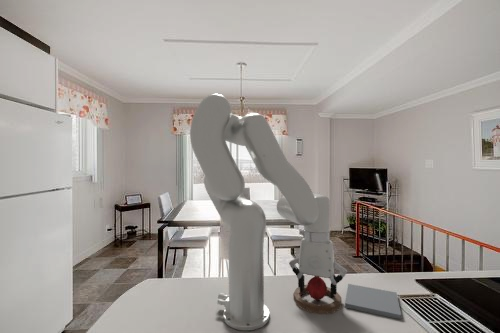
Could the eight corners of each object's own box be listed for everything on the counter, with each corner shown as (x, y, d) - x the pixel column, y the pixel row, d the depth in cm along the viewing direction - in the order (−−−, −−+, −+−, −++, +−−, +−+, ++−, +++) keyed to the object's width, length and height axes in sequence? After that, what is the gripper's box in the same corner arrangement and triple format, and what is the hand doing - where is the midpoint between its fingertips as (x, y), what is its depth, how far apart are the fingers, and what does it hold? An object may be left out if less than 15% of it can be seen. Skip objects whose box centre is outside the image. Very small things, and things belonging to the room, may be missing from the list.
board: (345, 307, 73) (345, 303, 73) (348, 287, 85) (348, 283, 85) (401, 319, 67) (401, 315, 67) (396, 296, 79) (396, 292, 79)
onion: (327, 306, 74) (327, 279, 74) (307, 304, 75) (307, 277, 75) (326, 296, 79) (325, 270, 79) (307, 294, 81) (306, 269, 80)
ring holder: (288, 306, 74) (288, 301, 74) (300, 286, 86) (300, 281, 86) (338, 318, 68) (338, 312, 68) (342, 294, 80) (342, 289, 80)
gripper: (285, 235, 77) (285, 292, 77) (346, 242, 70) (346, 305, 70) (292, 229, 84) (292, 282, 84) (348, 235, 77) (348, 293, 77)
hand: (317, 292), depth 77 cm, fingers open, 8 cm apart
